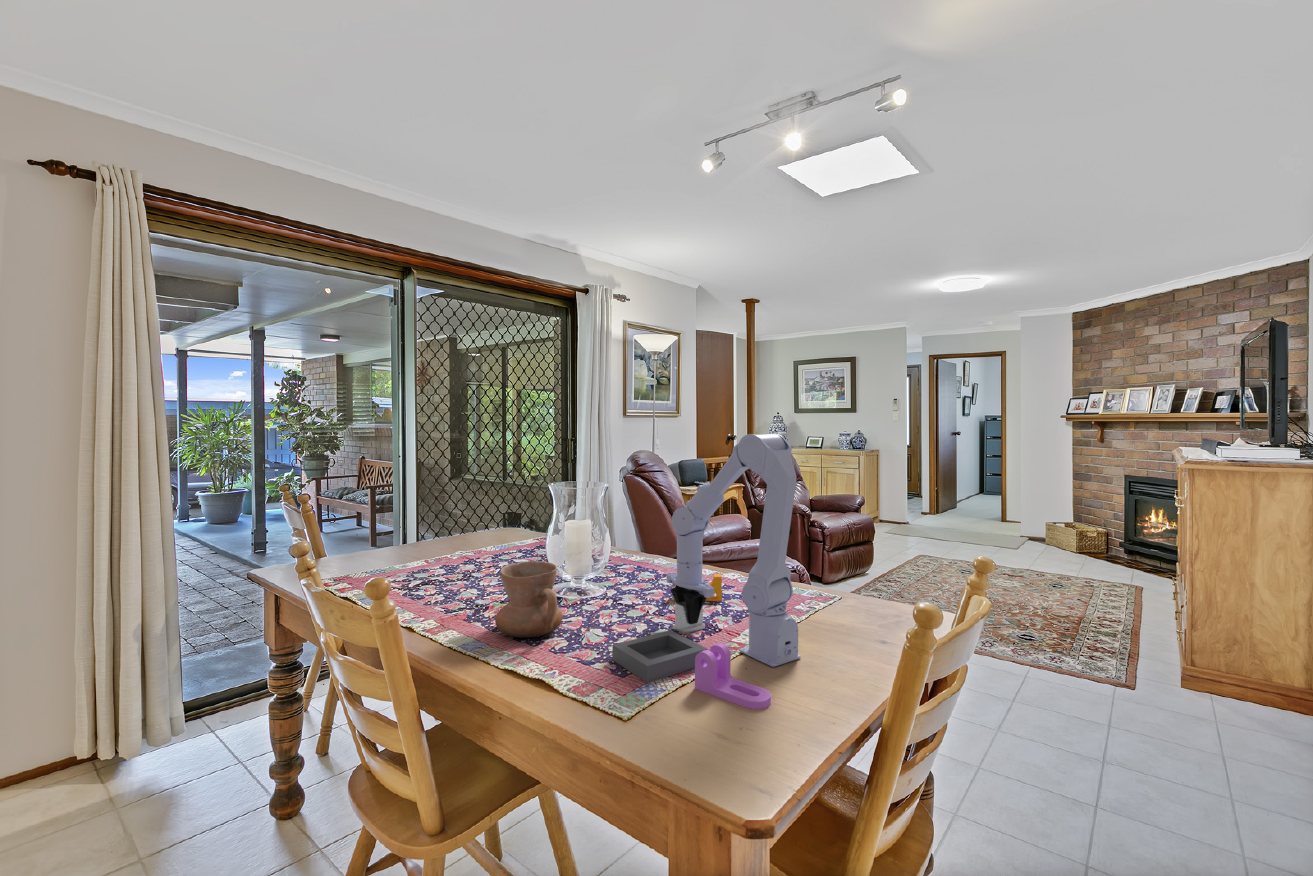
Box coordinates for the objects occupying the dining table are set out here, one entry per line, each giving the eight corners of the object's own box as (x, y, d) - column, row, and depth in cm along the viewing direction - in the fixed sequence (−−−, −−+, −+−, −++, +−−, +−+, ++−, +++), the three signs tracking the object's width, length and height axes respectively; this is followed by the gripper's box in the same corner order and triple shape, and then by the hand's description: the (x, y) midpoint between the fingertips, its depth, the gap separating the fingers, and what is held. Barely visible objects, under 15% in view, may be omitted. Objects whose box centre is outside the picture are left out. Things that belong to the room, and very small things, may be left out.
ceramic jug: (481, 628, 132) (480, 565, 131) (538, 613, 142) (538, 554, 141) (521, 654, 119) (520, 584, 118) (581, 636, 128) (581, 571, 127)
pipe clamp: (674, 602, 152) (674, 577, 151) (675, 597, 156) (675, 573, 156) (721, 604, 151) (722, 578, 151) (720, 598, 155) (721, 574, 155)
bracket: (694, 689, 104) (695, 649, 103) (713, 678, 108) (713, 640, 108) (759, 713, 95) (760, 671, 95) (776, 701, 99) (777, 660, 99)
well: (707, 664, 114) (707, 648, 113) (647, 682, 106) (647, 666, 105) (670, 644, 123) (670, 630, 123) (612, 659, 115) (612, 644, 115)
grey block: (705, 628, 133) (705, 602, 133) (683, 634, 129) (684, 606, 129) (693, 623, 136) (694, 597, 136) (672, 628, 133) (673, 602, 132)
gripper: (724, 565, 129) (724, 627, 129) (683, 552, 140) (683, 609, 141) (699, 570, 124) (699, 634, 125) (659, 556, 136) (659, 614, 137)
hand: (689, 621), depth 133 cm, fingers closed on grey block, 2 cm apart
